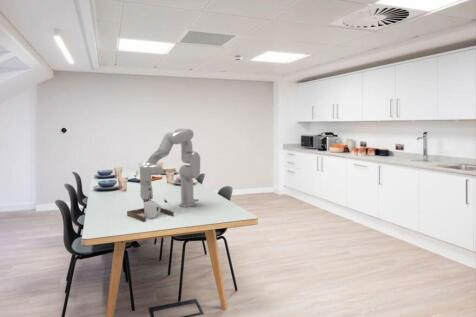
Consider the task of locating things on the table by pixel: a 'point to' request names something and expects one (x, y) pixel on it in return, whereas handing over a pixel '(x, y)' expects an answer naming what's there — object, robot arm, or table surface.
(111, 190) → the table surface
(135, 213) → the open wooden rail frame
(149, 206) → the mug
